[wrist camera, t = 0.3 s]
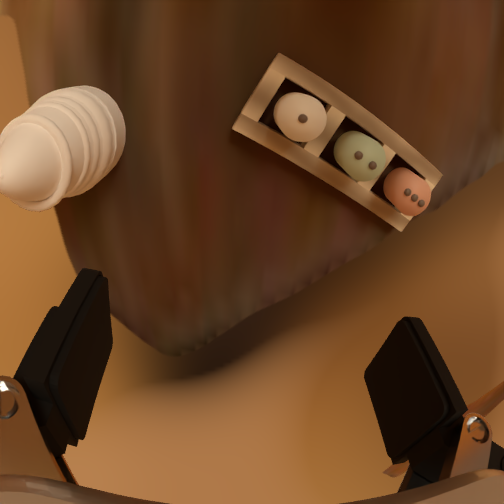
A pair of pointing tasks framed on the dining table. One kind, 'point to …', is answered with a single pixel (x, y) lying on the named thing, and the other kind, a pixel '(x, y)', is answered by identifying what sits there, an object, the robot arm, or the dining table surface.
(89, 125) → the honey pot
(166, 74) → the dining table surface
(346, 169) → the button two
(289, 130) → the button one
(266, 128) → the wooden panel frame
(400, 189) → the button three
